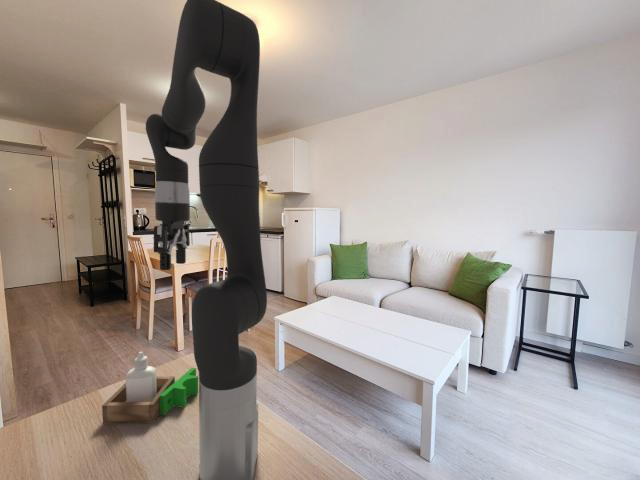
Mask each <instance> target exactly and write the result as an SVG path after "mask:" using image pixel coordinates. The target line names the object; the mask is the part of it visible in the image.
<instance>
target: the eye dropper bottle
mask: <svg viewBox="0 0 640 480" xmlns="http://www.w3.org/2000/svg"><path fill="white" fill-rule="evenodd" d="M133 361H134V362H133V363H134V367H133V368H131V369H130V370H128V372H127V374H125V375H126V376H125V383H126V400H127V402H151V401H152V400H153V399H154V397H155V396H156V395H157V384H156V377H157V369H156V368H155V367H154V366H151V365H148V356H147V355H144V352H143V351H139V352H138V355H137V356H136V358H134V360H133Z"/></svg>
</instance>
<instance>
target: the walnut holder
mask: <svg viewBox="0 0 640 480" xmlns="http://www.w3.org/2000/svg"><path fill="white" fill-rule="evenodd" d="M175 382H176V378H175V376H174V375H173V376H156V384H157V395H156V396H155V397H154V399H153V400H152V401H151V402H127V400H126V382H125V383H124V384H122V386H120V387H119V389H118V390H116V391H115V393H113V394H112V395H111V396H110V397H109V398H108V399H107V400H106V401H105V402H104V403H103V404H102V405H101V408H102V409H101V411H102V412H101V413H102V424H103V425H107V424H108V425H111V424H113V425H114V424H120V425H121V424H154V422H155V421H156V420H157V419H158V417H159V416H160V415H161V414H160V394H162V393H163V392H164V391H165V390H166V389H168V388H169V387H170V386H171V385H172V384H173V383H175Z"/></svg>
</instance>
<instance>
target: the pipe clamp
mask: <svg viewBox="0 0 640 480" xmlns="http://www.w3.org/2000/svg"><path fill="white" fill-rule="evenodd" d="M194 395H195V396H197V395H199V375H197V368H196V367H191V368H190V369H188V371H186V372H185V373H184V374H183V375H182V376H180V377H178V379H177V380H175V383H173V384H172V385H171V386H170V387H169V388H168V389H166V390H165V391H164V392H163V393H162V394H160V414H159V415H163V416H165V415H167V413H168V412H169V411H170V410H171V409H172V408H173V407H179V408H185V407H186V406H187V398H188V397H189V396H194Z"/></svg>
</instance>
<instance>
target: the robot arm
mask: <svg viewBox="0 0 640 480" xmlns="http://www.w3.org/2000/svg"><path fill="white" fill-rule="evenodd" d="M260 58H261V43H260V33H259V31H258V27H257V24H256V23H255V22H254V20H253V19H251V18H250V17H248V16H247V15H246V14H244V13H242V12H240V11H238V10H236V9H234V8H232V7H230V6H228V5H225V4H224V3H222V2H220V1H217V0H186V2H185V4H184V5H183V9H182V12H181V15H180V20H179V24H178V31H177V35H176V44H175V49H174V55H173V63H172V68H171V69H172V71H171V76H170V77H171V81H170V85H169V89H168V92H167V95H166V97H165V100H164V103H163V106H162V109H161V114H159V113H152V114H150V115H149V117H147V119H146V121H145V131H146V135H147V138H148V141H149V144H150V147H151V150H152V154H153V158H154V162H155V163H154V164H155V188H154V208H155V209H154V211H155V215H154V216H155V220H156V221H159V222H161V226H160V225H155V226H154V227H153V252H154V253H157V254H158V255H159V270H161V271H169V270H171V269H172V254H171V253H172V250H173V247H175V263H176V264H178V265H180V264H181V265H183V264H186V262H187V261H186V259H187V258H186V257H187V256H186V255H187V252H186V251H187V249H188V247H189V246H190V240H191V239H190V225H189V223H188V224H185V223H184V222H188V221H190V219H191V213H190V212H191V210H190V209H191V208H190V206H191V203H190V202H191V201H190V194H191V193H190V187H189V164H188V162H187V161H186V160H185V159H183V158H179V157H177V156H175V155H172V154H170V152H169V151H168V150H167V148H170V149H176V150H183V151H187V150H190V149H191V148H193V147H194V146H195V144H196V137H197V136H196V128H197V125H198V123H199V121H200V120H201V118H203V117H202V116H203V114H204V113H205V110H206V97H205V96H206V95H205V93H204V91H203V88H202V86H201V83H200V81H199V79H198V77H197V75H196V69H197V68H200V69H201V70H203V71H206V72H210V73H212V74H215V75H218V76H221V77H222V78H223V77H225V78H227V79H229V81H230V98H229V103H228V106H227V108H226V110H225V112H224V114H223V115H222V117H221V118H220V121H218V123H217V124H216V126H215V127H214V129H213V130H212V131H211V133H210V134H209V136H208V137H207V139H206V140H205V141H204V143H203V146H202V147H201V149H200V151H199V156H198V177H199V179H198V180H199V193H200V200H201V204H202V206H203V208H204V211H205V213H206V215H207V216H208V218H209V220H210V221H211V223H212V225H213V226H214V229H215V230H216V231H217V232H216V233H218V235H219V237H220V239H221V241H222V243H223V246H224V251H225V255H226V257H225V258H226V267H227V269H226V270H227V271H226V273H227V275H226V279H222V280H219V281H215V282H211V283H209V284H205V285H203V286H201V287H200V288H199V289H198V290H197V291H196V292H195V295H194V297H193V300H192V304H191V326H192V327H191V329H192V342H193V344H192V345H193V358H194V360H195V365H196V367H197V370H198V409H199V410H198V419H199V421H198V425H199V426H198V427H199V428H198V432H199V433H198V434H199V436H198V439H199V440H198V443H199V446H198V447H199V464H198V465H199V467H198V468H199V480H254V475H255V470H256V463H257V457H258V453H259V452H258V451H259V404H257V387H258V386H257V383H258V382H257V380H258V378H257V377H258V375H257V374H258V357H257V355H256V353H255V352H254V351H253V350H252V349H251V348H249V347H245V346H241V345H240V342H239V335H240V334H242V333H244V332H247V330H249V329H252V328H253V327H255V326H256V325H258V324H259V323H260V322H261V321H262V320H263V318H264V317H265V315H266V312H267V307H268V297H267V296H268V294H267V285H266V277H265V271H264V269H265V268H264V262H263V255H262V246H261V245H262V243H261V221H260V220H261V219H260V171H259V170H260V169H259V168H260V167H259V156H258V155H259V154H258V152H259V150H258V101H259V100H258V97H259V83H260V82H259V81H260V79H259V78H260V62H261V61H260V60H261V59H260Z"/></svg>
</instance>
